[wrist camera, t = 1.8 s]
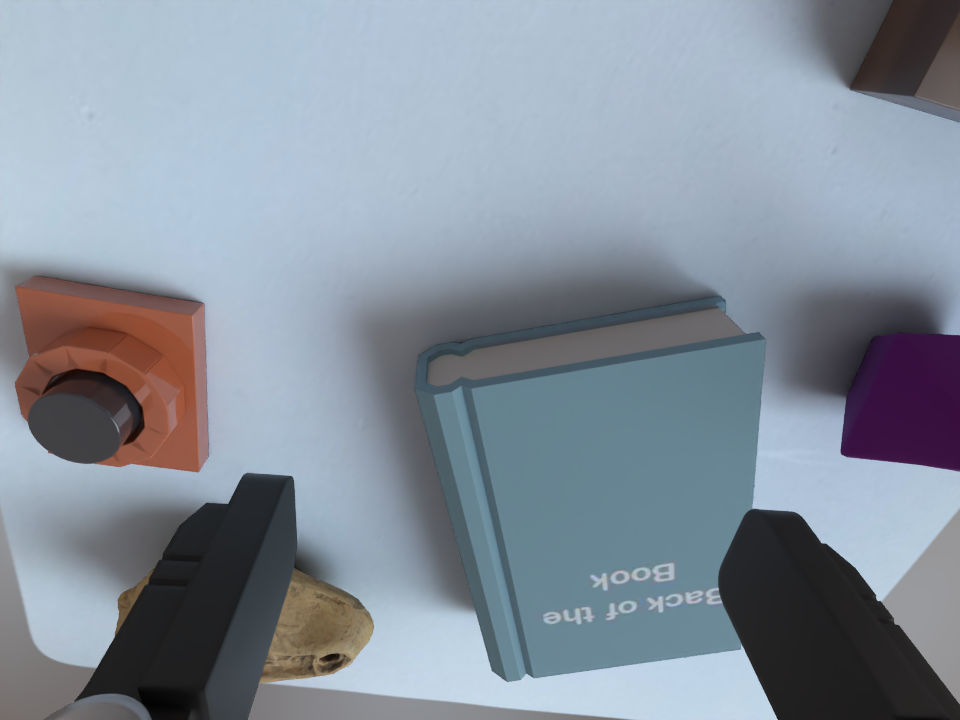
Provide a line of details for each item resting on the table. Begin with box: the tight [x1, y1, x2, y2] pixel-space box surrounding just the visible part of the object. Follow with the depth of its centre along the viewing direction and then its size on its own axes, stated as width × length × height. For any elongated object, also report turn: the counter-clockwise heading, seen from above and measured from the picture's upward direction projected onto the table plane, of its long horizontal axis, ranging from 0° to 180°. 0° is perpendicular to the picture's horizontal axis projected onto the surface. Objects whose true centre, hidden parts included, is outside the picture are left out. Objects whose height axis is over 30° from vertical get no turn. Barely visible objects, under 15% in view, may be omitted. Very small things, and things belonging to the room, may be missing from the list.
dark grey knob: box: [28, 372, 141, 464], centre depth 27 cm, size 4×4×2 cm
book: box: [415, 296, 766, 682], centre depth 33 cm, size 23×16×5 cm
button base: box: [15, 276, 209, 472], centre depth 29 cm, size 10×8×4 cm
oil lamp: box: [115, 568, 374, 684], centre depth 35 cm, size 11×15×8 cm
